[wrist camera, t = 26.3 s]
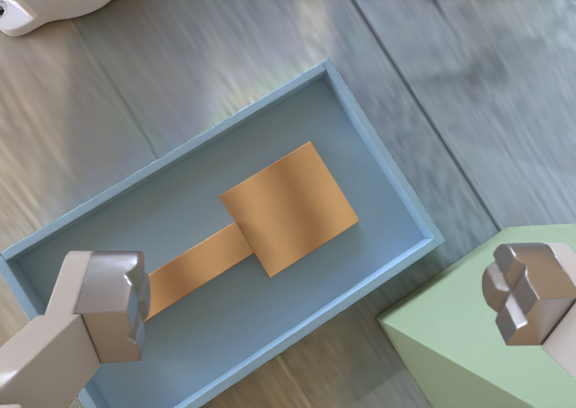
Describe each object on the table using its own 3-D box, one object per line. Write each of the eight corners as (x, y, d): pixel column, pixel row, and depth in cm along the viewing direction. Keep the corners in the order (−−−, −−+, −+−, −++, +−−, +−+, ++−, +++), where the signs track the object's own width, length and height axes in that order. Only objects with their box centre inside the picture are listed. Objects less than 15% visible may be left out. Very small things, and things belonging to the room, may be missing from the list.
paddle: (124, 369, 39) (117, 377, 37) (73, 286, 39) (63, 289, 37) (355, 221, 42) (362, 220, 40) (307, 144, 42) (311, 139, 40)
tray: (127, 447, 39) (118, 463, 37) (7, 256, 40) (-10, 258, 37) (433, 241, 43) (446, 241, 41) (323, 69, 44) (329, 57, 41)
